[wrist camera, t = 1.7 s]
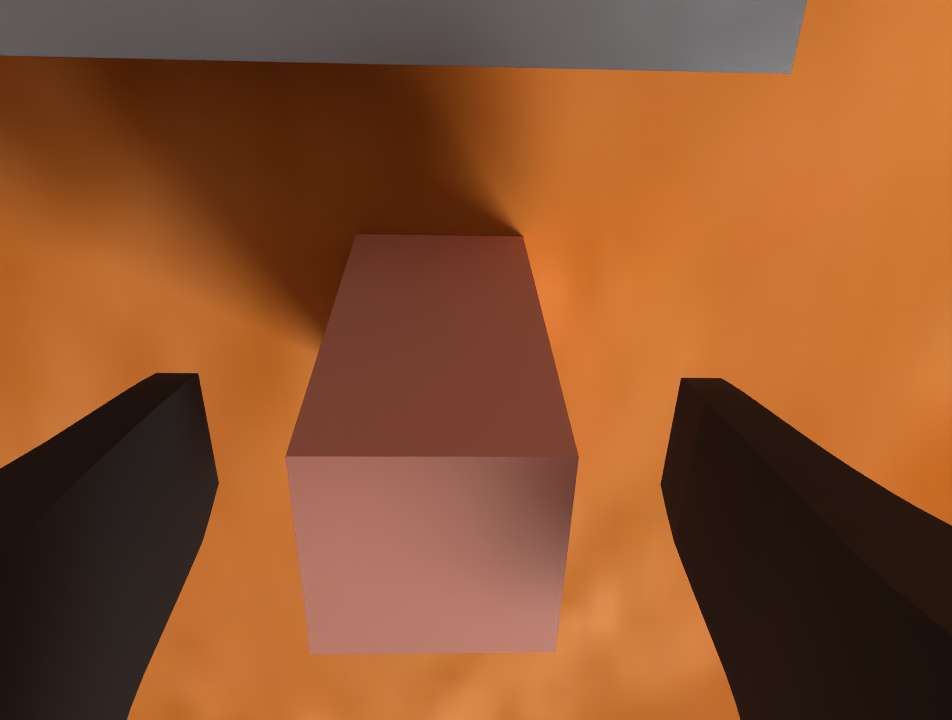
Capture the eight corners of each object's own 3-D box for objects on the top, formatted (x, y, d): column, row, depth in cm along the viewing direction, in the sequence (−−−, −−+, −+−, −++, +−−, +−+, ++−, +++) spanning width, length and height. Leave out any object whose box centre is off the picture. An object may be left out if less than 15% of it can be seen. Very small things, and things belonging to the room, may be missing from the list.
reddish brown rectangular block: (364, 377, 16) (310, 654, 10) (355, 233, 14) (285, 456, 8) (514, 378, 16) (555, 652, 10) (522, 236, 14) (578, 456, 8)
